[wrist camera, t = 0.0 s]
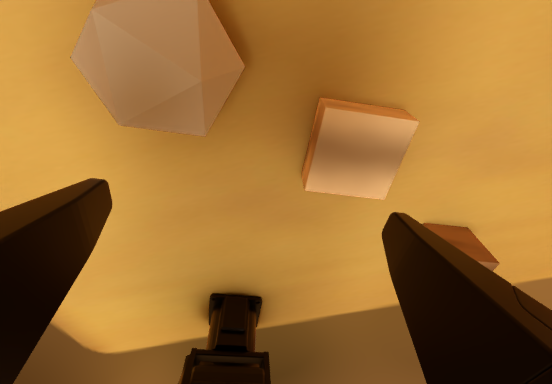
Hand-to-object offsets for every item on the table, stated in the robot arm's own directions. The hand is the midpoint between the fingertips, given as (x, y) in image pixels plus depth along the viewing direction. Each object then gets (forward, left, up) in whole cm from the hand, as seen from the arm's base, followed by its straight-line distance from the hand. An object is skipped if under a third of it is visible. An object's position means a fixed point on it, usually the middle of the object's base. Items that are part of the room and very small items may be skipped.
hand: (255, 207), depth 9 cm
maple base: (-3, -8, -15) cm, 17 cm away
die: (+2, +6, -15) cm, 16 cm away
